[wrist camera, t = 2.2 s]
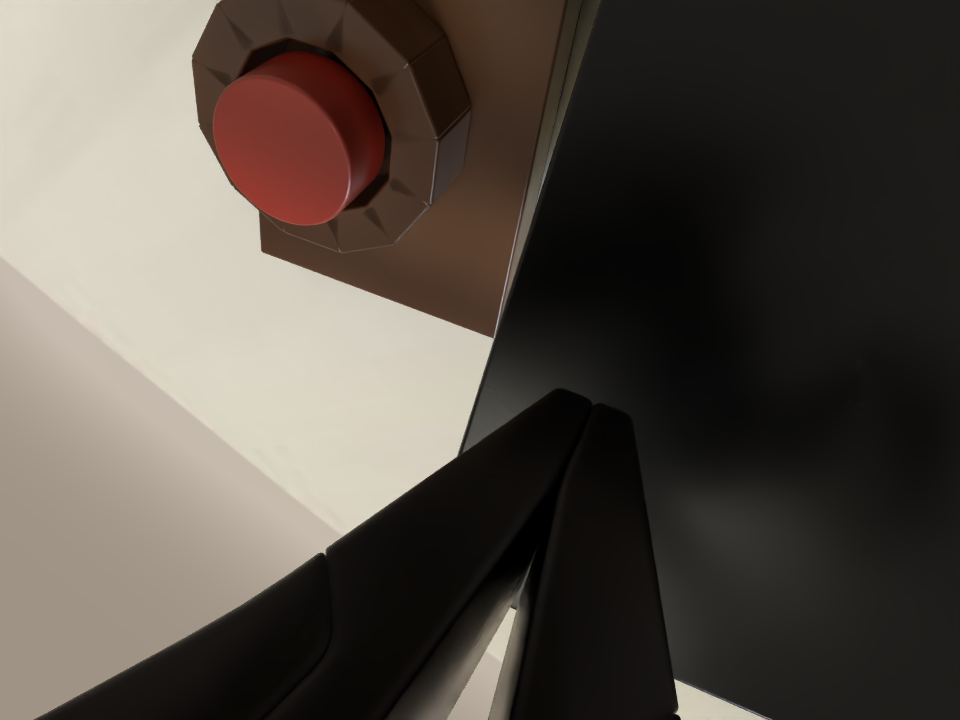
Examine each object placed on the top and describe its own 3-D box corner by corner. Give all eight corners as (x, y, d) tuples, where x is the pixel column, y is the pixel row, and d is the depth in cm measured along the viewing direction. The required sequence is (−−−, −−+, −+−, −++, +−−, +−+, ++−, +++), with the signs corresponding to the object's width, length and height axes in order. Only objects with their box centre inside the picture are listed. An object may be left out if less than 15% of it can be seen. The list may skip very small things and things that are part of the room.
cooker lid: (1016, 802, 13) (1032, 837, 12) (432, 552, 15) (420, 570, 14) (1544, 40, 9) (1609, 32, 8) (663, -173, 11) (661, -194, 10)
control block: (512, 311, 24) (470, 382, 22) (279, 226, 26) (215, 284, 23) (611, -130, 16) (562, -97, 14) (262, -219, 18) (160, -204, 15)
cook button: (382, 212, 20) (349, 246, 19) (258, 168, 21) (218, 199, 19) (391, 75, 17) (354, 104, 16) (250, 30, 18) (203, 54, 17)
